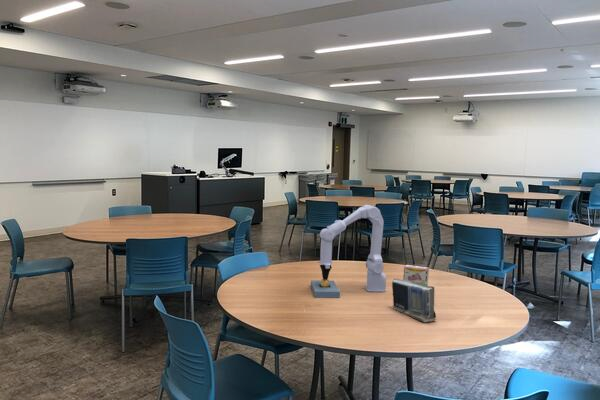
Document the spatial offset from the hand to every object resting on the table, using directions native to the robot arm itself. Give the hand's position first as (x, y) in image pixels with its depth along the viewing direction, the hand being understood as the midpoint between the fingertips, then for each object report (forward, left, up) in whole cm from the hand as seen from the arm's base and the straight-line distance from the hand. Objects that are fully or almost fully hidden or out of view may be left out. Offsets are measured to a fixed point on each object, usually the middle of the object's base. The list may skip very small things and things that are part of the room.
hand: (325, 279), depth 229 cm
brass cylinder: (0, 0, -6) cm, 6 cm away
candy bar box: (-42, +13, -6) cm, 44 cm away
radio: (-33, +33, -7) cm, 47 cm away
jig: (0, 0, -6) cm, 6 cm away
